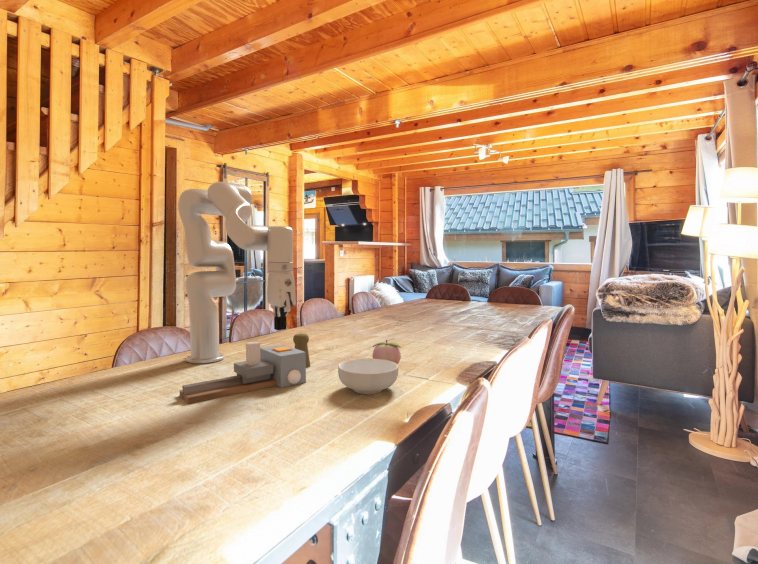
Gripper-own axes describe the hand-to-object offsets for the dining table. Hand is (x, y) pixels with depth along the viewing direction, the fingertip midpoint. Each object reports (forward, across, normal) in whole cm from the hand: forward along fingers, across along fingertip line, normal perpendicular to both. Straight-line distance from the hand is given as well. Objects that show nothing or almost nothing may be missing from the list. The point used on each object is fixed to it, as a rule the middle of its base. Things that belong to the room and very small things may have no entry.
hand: (280, 329), depth 128 cm
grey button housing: (+15, -1, 0) cm, 15 cm away
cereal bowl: (+15, -25, -14) cm, 32 cm away
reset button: (+10, -1, 0) cm, 10 cm away
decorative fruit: (+15, -13, -31) cm, 37 cm away
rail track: (+15, -1, +16) cm, 22 cm away
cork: (+16, +9, -12) cm, 22 cm away
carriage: (+13, -1, +9) cm, 16 cm away
